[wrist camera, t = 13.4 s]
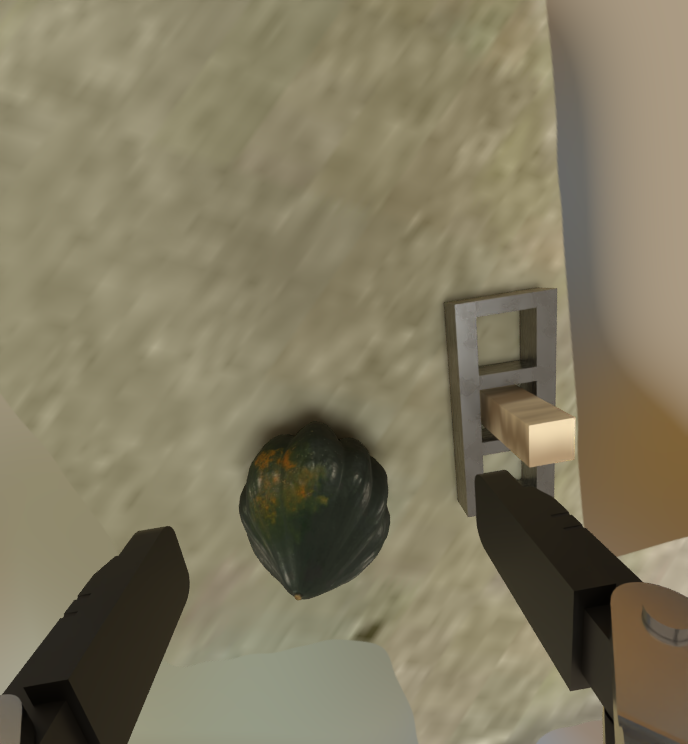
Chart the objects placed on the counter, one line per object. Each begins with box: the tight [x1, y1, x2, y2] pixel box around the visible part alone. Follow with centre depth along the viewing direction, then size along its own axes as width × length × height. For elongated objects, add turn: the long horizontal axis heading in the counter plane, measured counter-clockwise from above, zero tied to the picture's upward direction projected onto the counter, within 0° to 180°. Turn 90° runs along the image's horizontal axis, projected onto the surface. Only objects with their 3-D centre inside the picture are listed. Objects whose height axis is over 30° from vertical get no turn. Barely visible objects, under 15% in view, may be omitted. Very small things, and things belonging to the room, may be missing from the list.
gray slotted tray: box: [444, 288, 557, 517], centre depth 38 cm, size 24×10×3 cm, turn 8°
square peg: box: [480, 384, 575, 468], centre depth 35 cm, size 4×4×10 cm
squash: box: [239, 422, 390, 600], centre depth 34 cm, size 14×15×15 cm
